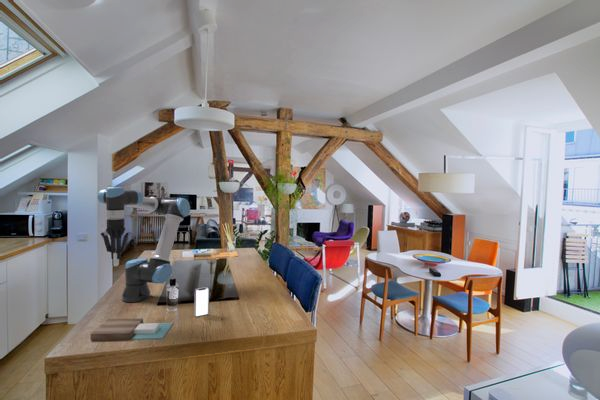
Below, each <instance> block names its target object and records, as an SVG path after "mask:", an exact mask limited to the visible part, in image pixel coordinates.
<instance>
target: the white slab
mask: <svg viewBox="0 0 600 400" xmlns="http://www.w3.org/2000/svg"><path fill="white" fill-rule="evenodd" d="M146 323H147V322H146ZM159 323H160V322H151V323H150V322H148V323H147V324H145V323H143V324H139V325H138V326H137V327H136V328H135V329H134V335H136V334H155V332H156V331H157V330H158V328H159Z"/></svg>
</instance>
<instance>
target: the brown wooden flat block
mask: <svg viewBox="0 0 600 400" xmlns="http://www.w3.org/2000/svg"><path fill="white" fill-rule="evenodd" d="M139 324H144V318H141V317H140V318H136V317H135V318H132V317H131V318H107V319H106V320H105V321H104V322H103V323H102V324H101V325H99V326H98V327H97V328H96V329H95V330H93V331H92V332H91V333H90V341H92V342H93V341H94V342H95V341H129V340H132V338H133V337H134V336H135V334H134V329H135V328H136V327H137V326H138V325H139Z"/></svg>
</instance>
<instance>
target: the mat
mask: <svg viewBox="0 0 600 400" xmlns="http://www.w3.org/2000/svg"><path fill="white" fill-rule="evenodd" d="M158 323H159V328H158V330H157V331H156V332H155V334H134V335H133V336H132V337H131V341H132V340H135V341H137V340H163V339H164V338H165V336H166V335H167V333H168V331H169V330H170V329H171V328H172V326H173V324H174V323H173V322H158ZM144 324H147V322H146V323H144Z"/></svg>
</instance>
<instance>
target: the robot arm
mask: <svg viewBox="0 0 600 400" xmlns="http://www.w3.org/2000/svg"><path fill="white" fill-rule="evenodd" d="M97 200H98V201H99V202H100V203H101V204H105V205H106V229H105V231H103V232H100V235H101V237H102V238H103V242H104V246H105V248H106V249H105V250H106V252H109V253H110V254H111V260H112V261H113V262H112V264H113V267H118V266H119V265H120V259H121V258H122V252H124V251H125V250H126V247H127V244H128V239H129V236H130V234H131V232H130V231H127V230H126V228H125V207H128V208H136V209H140V210H141V209H142V210H146V211H148V212H149V213H154V214H158V215H162V216H164V218H165V221H164V223H163V226H162V227H163V228H162V230H161V233H160V236H159V239H158V243H157V245H156V248H155V252H154V255H152V256H151V257H150V258H149V259H148V258H146V257H142V258H135V259H130V260H128V261H127V262H125V268H124V269H125V270H124V271H125V273H124V274H125V277H124V278H125V287H124V289H123V292H122V294H121V300H122V301H124V302H127V303H135V302H140V301H144V300H148V299H149V298H150V297H151V290H150V288H149V285H148V283H152V284H156V285H157V284H164V283H166V282H168V281H169V279H170V278H171V276H172V274H173V266H172V265H171V260H170V256H171V252H172V249H173V246H174V244H175V243H174V242H175V239H176V236H177V234H178V231H179V227H180V223H182V222H183V221H184V218H185V217H188V216H189V215H190V213H191V205H190V202H189V201H188V199H186V198H183V197H169V196H168V197H167V196H164V197H162V196H161V197H159V196H158V197H157V196H149V197H148V196H144V195H143V193H142V191H140V190H136V189H133V190H129V189H125V188H124V187H122V186H109V187H107V188H105V189H101V190H100V191H98V194H97ZM108 235H109V236H108ZM122 236H123V238H122Z"/></svg>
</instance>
